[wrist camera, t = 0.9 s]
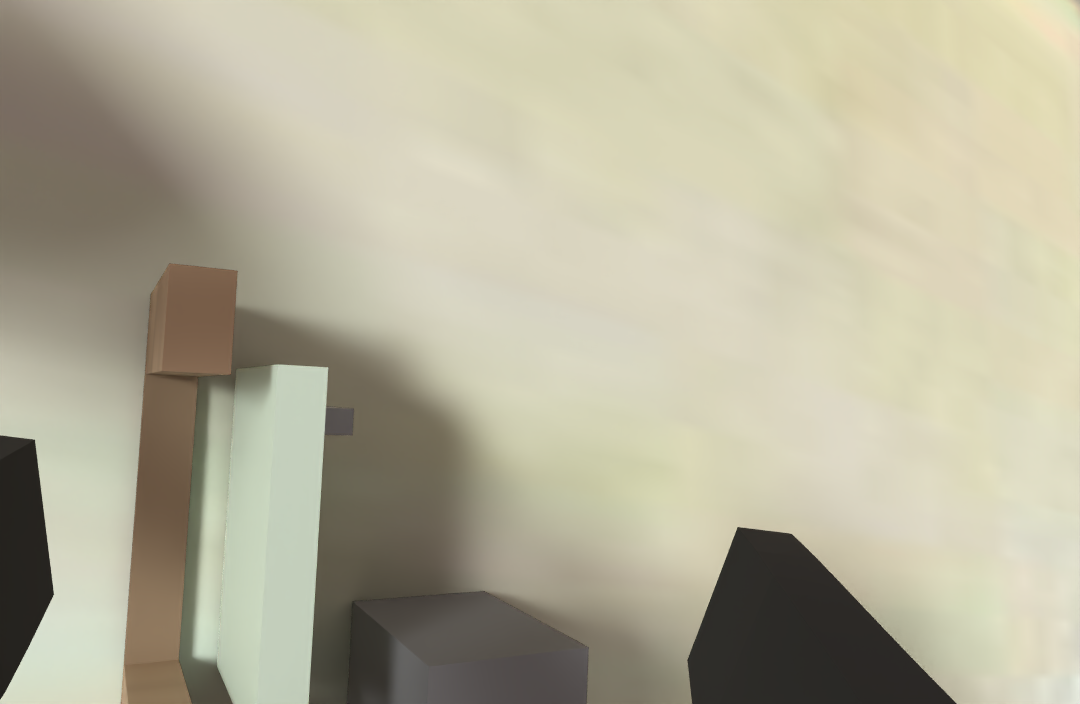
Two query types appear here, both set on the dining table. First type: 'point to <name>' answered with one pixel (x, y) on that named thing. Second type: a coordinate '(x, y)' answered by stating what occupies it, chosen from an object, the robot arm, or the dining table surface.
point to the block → (460, 654)
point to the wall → (170, 469)
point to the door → (274, 531)
